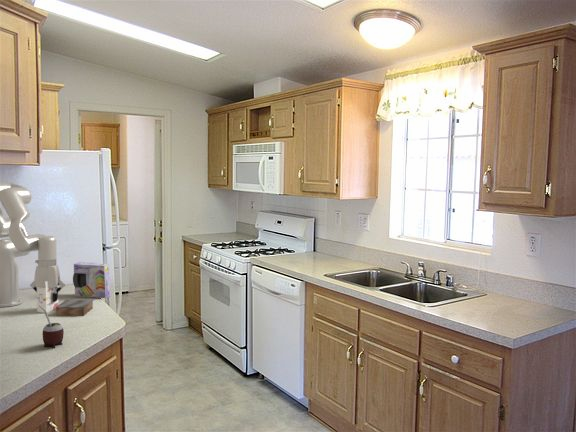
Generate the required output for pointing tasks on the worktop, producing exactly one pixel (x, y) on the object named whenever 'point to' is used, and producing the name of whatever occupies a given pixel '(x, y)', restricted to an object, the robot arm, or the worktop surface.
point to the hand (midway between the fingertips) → (47, 300)
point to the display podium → (74, 307)
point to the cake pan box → (91, 280)
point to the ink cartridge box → (45, 299)
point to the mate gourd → (52, 333)
